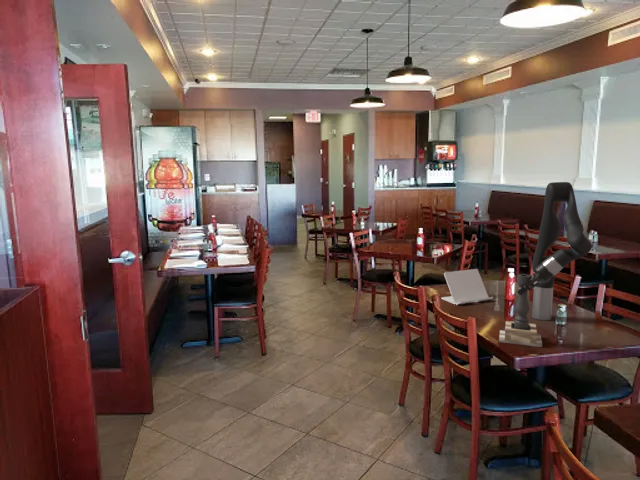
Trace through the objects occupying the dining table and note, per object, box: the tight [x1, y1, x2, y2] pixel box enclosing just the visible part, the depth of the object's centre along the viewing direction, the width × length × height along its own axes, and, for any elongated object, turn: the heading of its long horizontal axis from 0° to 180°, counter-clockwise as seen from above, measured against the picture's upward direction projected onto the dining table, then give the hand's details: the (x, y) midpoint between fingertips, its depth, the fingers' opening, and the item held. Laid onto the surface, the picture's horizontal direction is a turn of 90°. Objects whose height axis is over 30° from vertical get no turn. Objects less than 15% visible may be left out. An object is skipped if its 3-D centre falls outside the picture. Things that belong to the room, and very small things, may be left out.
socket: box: [498, 320, 543, 348], centre depth 222 cm, size 14×18×6 cm
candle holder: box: [513, 273, 531, 330], centre depth 219 cm, size 6×6×25 cm
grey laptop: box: [441, 268, 494, 306], centre depth 286 cm, size 18×25×17 cm
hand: (518, 291), depth 219 cm, fingers closed on candle holder, 5 cm apart
